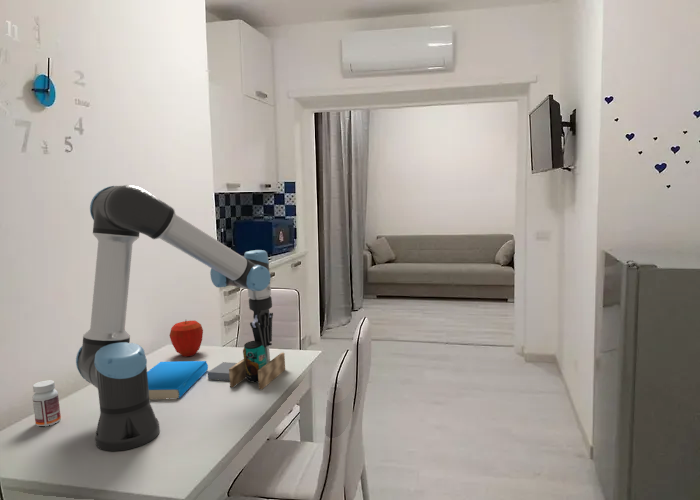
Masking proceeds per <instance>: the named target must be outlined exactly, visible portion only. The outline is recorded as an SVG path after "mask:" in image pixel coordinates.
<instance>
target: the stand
mask: <svg viewBox="0 0 700 500" xmlns="http://www.w3.org/2000/svg"><path fill="white" fill-rule="evenodd" d="M237 363H238V362H229V361H228V362H227V361H225V362H223V361H222V362H221V363H219V364H218V365H217V366H215V367H213V368H212V369H210V370H208V371H207V380H210V379H219V380H218V381H224V380H230V377H229V368H231V367H232V366H234V365H235V364H237Z"/></svg>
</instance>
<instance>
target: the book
mask: <svg viewBox="0 0 700 500" xmlns="http://www.w3.org/2000/svg"><path fill="white" fill-rule="evenodd" d="M208 369H209V365H208V362H207V361H206V360H195V361H194V360H190V361H187V360H186V361H177V360H176V361H159V362H157V364H156V365H154V366H153V367H152V368H151V369H149V370H147V377H148V388H149V400H167V399H166V398H169V399H168V400H171V399H170V398H178V399H180V398H181V397H183V395H184V394H186V392H187V391H189V389H190V388H192V386H193V385H194V384H195V383H196V382H197V381H199V379H200V378H201V377H203V375H204V374H206V372H208V371H209V370H208Z"/></svg>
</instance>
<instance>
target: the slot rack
mask: <svg viewBox="0 0 700 500" xmlns="http://www.w3.org/2000/svg"><path fill="white" fill-rule="evenodd" d="M285 357H286V356H285V352H280V353H279V354H278V355H276V356H275V357H274V358H272V359H270V362H268V363H267V364H266V365H265V366H263V367H262V368H261V369H259V370H258V381H259V382H258V389H259V390H263V389H264V388H266V387H267V386H268V385H269V384H270V383H272V382H273V381H274V380H275V379H276V378H277V377H279V375H281V374H282V373H283V372H285V371H286V360H285V359H286V358H285ZM236 363H237V364H235V365H234V366H232V367H231V368H229V377H230V381H229V385H230V386H229V387H230V388H234V387H236V386H237V385H238V384H239V382H240V383H241V382H242V381H244V380H245V379H247V378H246V371H245V363H244V358H243V359H241V360H239V361H238V362H236ZM236 384H237V385H236ZM235 385H236V386H235Z"/></svg>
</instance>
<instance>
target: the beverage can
mask: <svg viewBox="0 0 700 500" xmlns="http://www.w3.org/2000/svg"><path fill="white" fill-rule="evenodd" d="M243 346H244V348H243V349H242V354H243V356H242V357H243V359H244V363H245V371H246V378H245V379H246V380H247V381H249V382H250V383H259V381H258V370H259V369H261V368H262V367H263V366H265V365H266V364H267V361H266V353H265V347H264V346H263V344H262V342H261V341H255V340H252V341H251V340H250V341H248V342H246V343H244V345H243Z"/></svg>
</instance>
